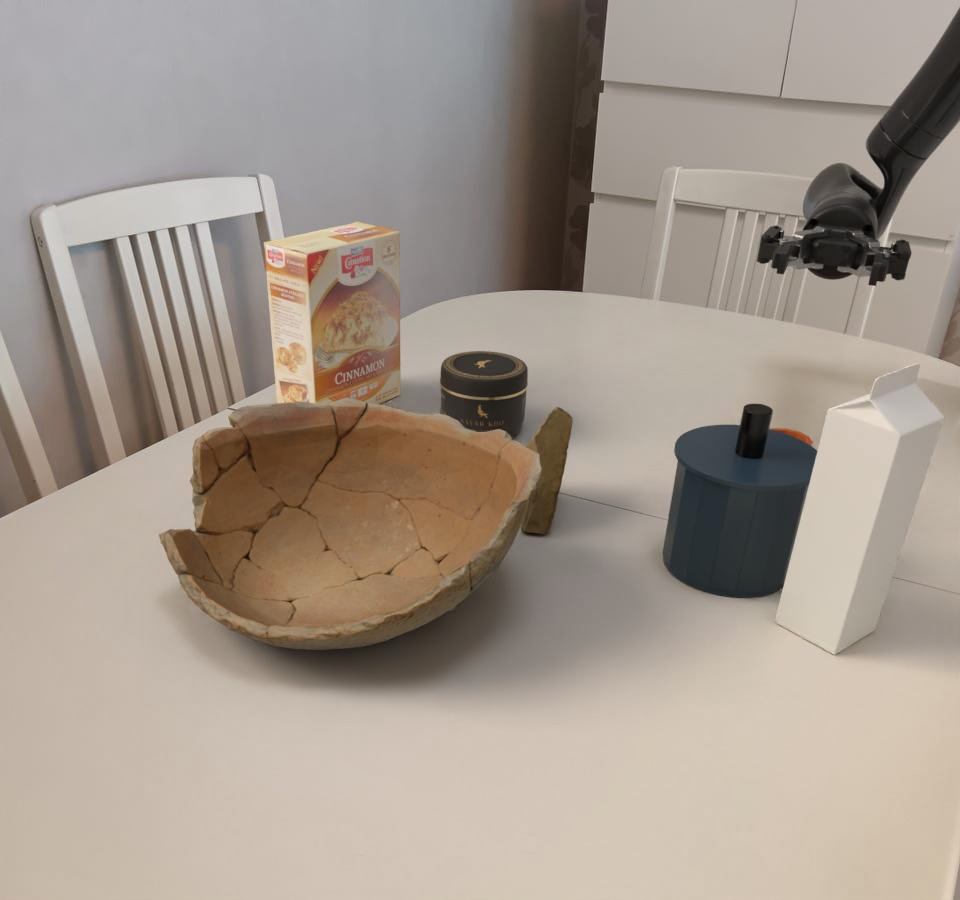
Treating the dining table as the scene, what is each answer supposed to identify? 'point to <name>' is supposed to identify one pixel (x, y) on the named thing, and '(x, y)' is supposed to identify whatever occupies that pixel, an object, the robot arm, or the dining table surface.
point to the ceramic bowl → (346, 520)
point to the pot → (730, 536)
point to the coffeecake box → (335, 314)
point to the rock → (548, 470)
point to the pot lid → (747, 454)
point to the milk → (858, 511)
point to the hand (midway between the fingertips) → (828, 268)
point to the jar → (484, 390)
